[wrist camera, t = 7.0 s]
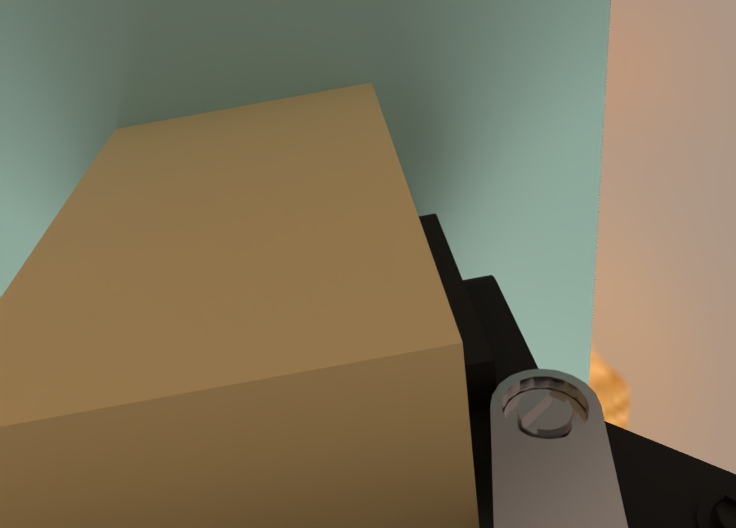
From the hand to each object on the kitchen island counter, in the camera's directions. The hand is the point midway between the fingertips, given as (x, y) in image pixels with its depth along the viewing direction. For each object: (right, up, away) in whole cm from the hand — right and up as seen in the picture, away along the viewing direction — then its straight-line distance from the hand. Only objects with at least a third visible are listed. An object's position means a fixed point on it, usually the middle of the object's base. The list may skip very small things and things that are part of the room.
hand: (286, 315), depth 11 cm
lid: (0, +1, +2) cm, 2 cm away
